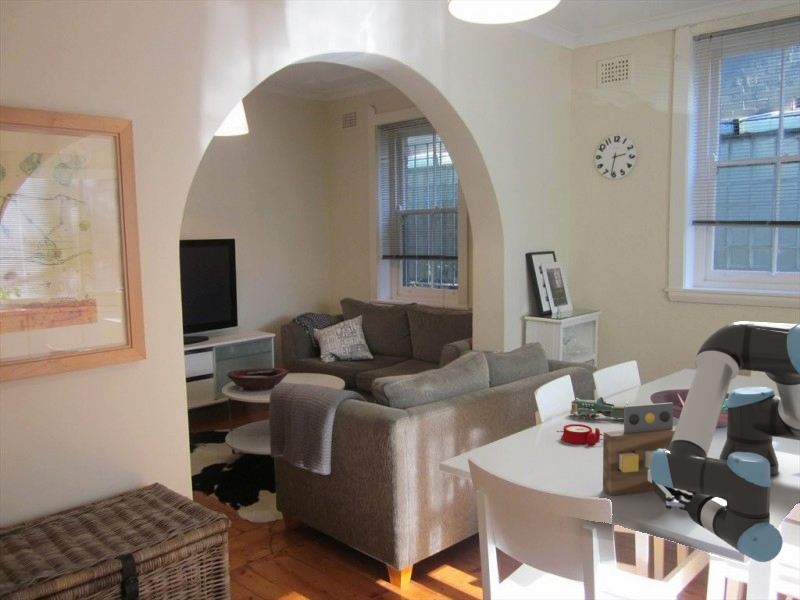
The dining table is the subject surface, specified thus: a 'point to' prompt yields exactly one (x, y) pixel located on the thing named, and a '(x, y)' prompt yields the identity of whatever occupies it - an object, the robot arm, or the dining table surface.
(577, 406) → the hoverbike
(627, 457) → the button
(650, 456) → the button mid
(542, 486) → the dining table surface
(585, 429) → the alarm clock
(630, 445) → the panel
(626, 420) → the card
